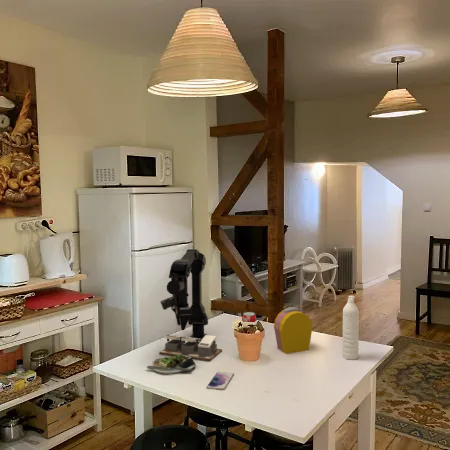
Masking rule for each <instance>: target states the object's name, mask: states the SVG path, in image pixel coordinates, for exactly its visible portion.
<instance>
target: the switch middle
mask: <svg viewBox="0 0 450 450" xmlns="http://www.w3.org/2000/svg"><path fill="white" fill-rule="evenodd" d="M196 339H199V338H191V337H190V336H189V337H185V338H181V340H182V341H185V342H188V341H190V342H194V341H195V342H196ZM199 340H200V339H199Z"/></svg>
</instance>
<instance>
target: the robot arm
mask: <svg viewBox="0 0 450 450" xmlns="http://www.w3.org/2000/svg"><path fill="white" fill-rule="evenodd" d="M206 262H207V259H206V257H205V255H204V254H203V253H202V252H200V251H199V249H195V248H194V249H193V248H188V249H186V252H185V254H183V256H182V257H181V258H180V259H175V260H173V262H172V263H171V266H170V269H169V275H168V278H169V279H170V281H169V282H168V283H167V284H166V291H167V293H169V294H170V295H171V296H170V297H167V298H165V299H162V300H161V301H160V302H159V303H160V304H161V307H162V309H163V310H164V311H166V310H168V309H169V308H170V310H171V311H172V312H173V313H174V315H175V320H176V324H177V326H180V330H181V331H185V329H186V326H187V324H188V325H189V326H192V327H191V328H192V334H191V335H190V336H189V337H191V338H199V339H203V338H204V337H205V335H208V334H207V333H205V327H206V326H208V325H209V319H208V318H209V317H208V315H207V313H206V308H205V306H204V305H203V301H202V297H203V296H202V290H203V289H202V288H203V287H202V273H203V271H204V270H205V267H206ZM190 275H191V306H189V305H190V304H189V301H188V299H189V298H188V297H189V295H190V294H189V293H188V291H189V290H188V281H189V280H188V278H189V277H190Z"/></svg>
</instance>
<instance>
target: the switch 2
mask: <svg viewBox="0 0 450 450" xmlns="http://www.w3.org/2000/svg"><path fill="white" fill-rule="evenodd" d="M216 339H217V336H216V335H208V334H207V335H205V337H204V338H202V341H201V342H200V343H199V345H198V347H201V348H208V349H209V348H210V347H211V345H212V344H213V341H216Z"/></svg>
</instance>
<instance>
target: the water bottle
mask: <svg viewBox="0 0 450 450" xmlns="http://www.w3.org/2000/svg"><path fill="white" fill-rule="evenodd" d="M355 298H356V297H355V296H354V295H348V298H347V302H346V304H345V305H344V307H343V309H342V352H341V353H342V358H343V359H345V360H352V361H353V360H358V359H359V337H360V336H359V332H360V331H359V330H360V329H359V325H360V323H359V322H360V321H359V320H360V319H359V316H360V315H359V314H360V311H359V308H358V306H357V305H356V303H355Z"/></svg>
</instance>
